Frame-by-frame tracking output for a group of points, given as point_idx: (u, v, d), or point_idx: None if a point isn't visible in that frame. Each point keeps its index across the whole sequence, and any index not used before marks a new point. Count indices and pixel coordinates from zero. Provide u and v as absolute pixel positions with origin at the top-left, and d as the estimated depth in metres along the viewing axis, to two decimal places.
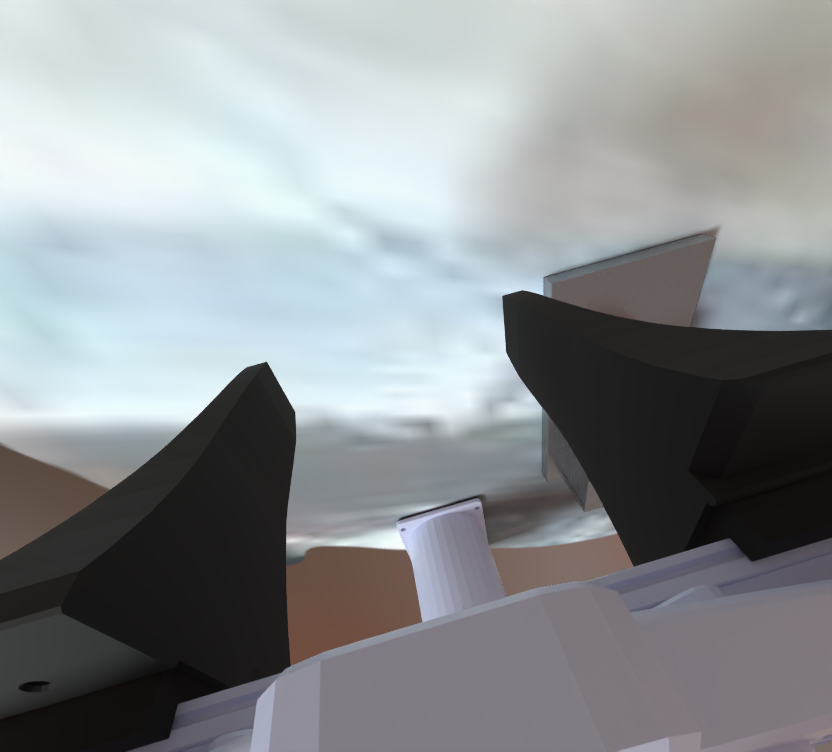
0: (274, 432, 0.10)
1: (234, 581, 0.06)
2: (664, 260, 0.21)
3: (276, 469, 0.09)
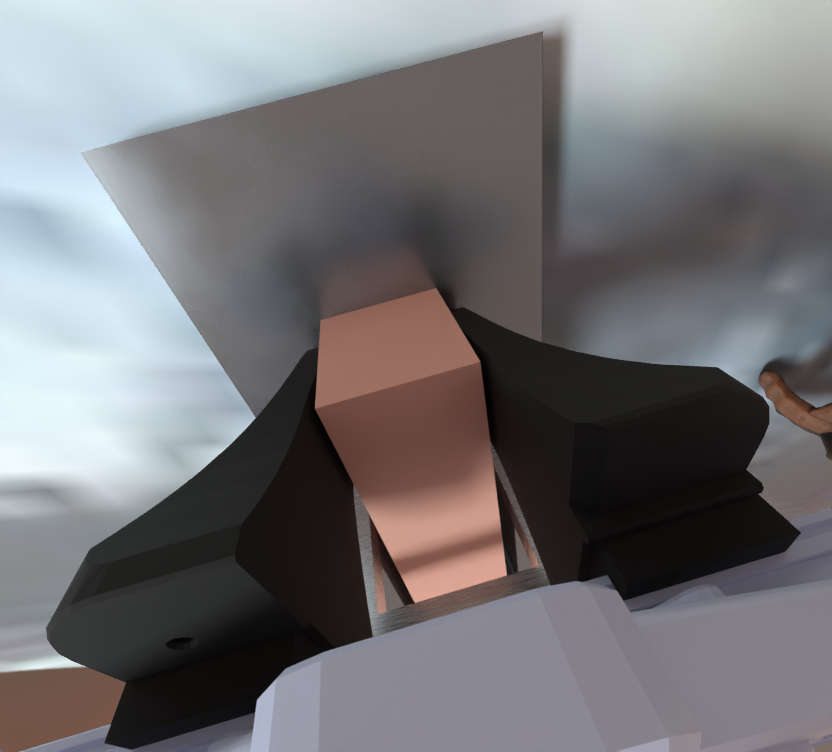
0: None
1: (331, 553, 0.06)
2: (410, 97, 0.08)
3: None
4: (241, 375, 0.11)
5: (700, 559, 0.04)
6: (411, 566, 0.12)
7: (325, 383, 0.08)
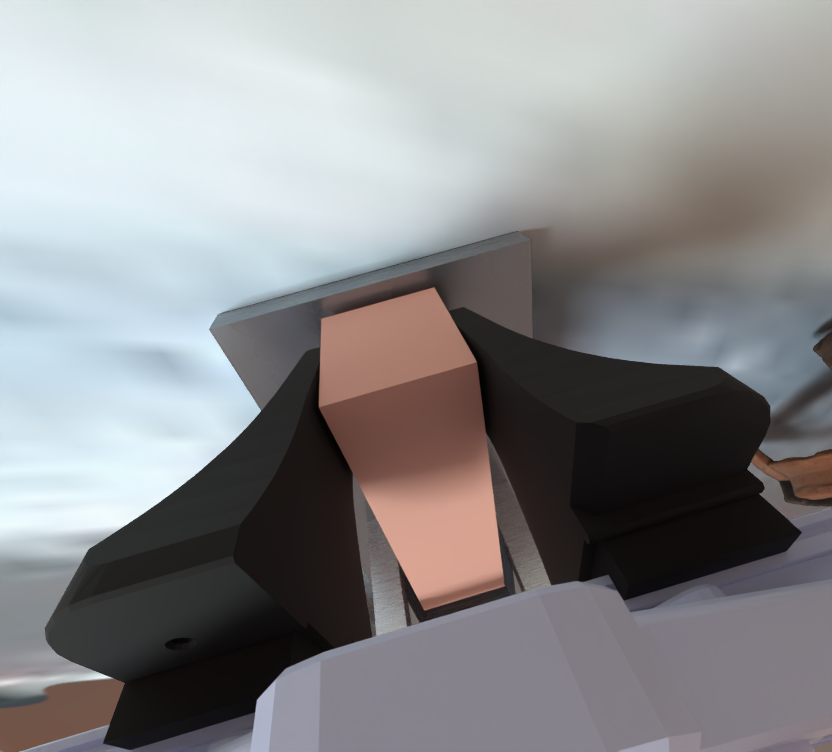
0: None
1: (330, 553, 0.06)
2: (437, 282, 0.11)
3: None
4: None
5: (702, 558, 0.04)
6: (410, 554, 0.12)
7: (328, 382, 0.08)
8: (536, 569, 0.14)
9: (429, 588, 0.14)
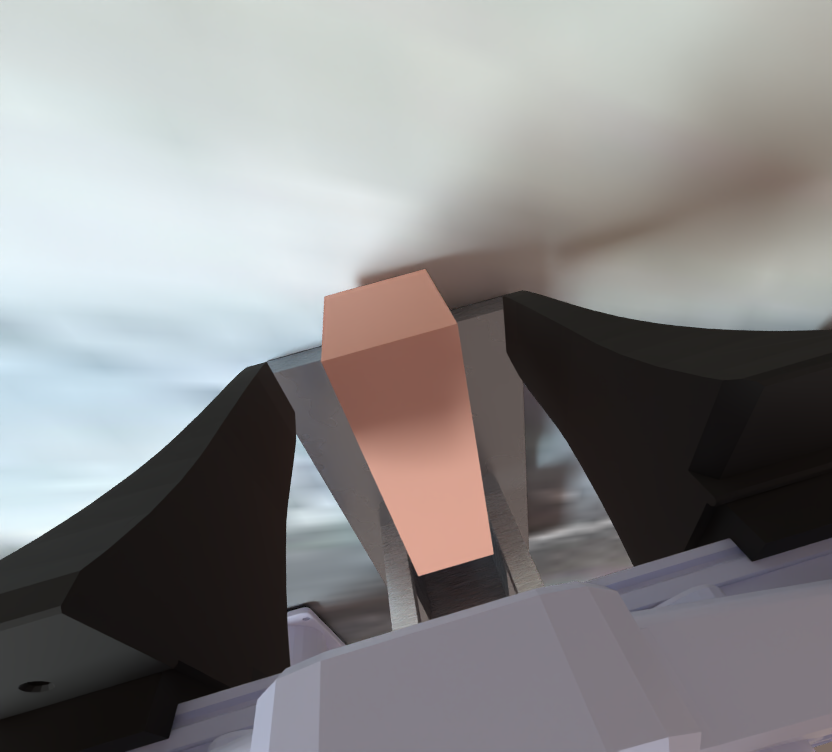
0: (274, 432, 0.10)
1: (234, 581, 0.06)
2: None
3: (276, 469, 0.09)
4: (328, 473, 0.17)
5: None
6: (403, 514, 0.13)
7: (329, 343, 0.10)
8: (525, 568, 0.17)
9: (422, 552, 0.15)
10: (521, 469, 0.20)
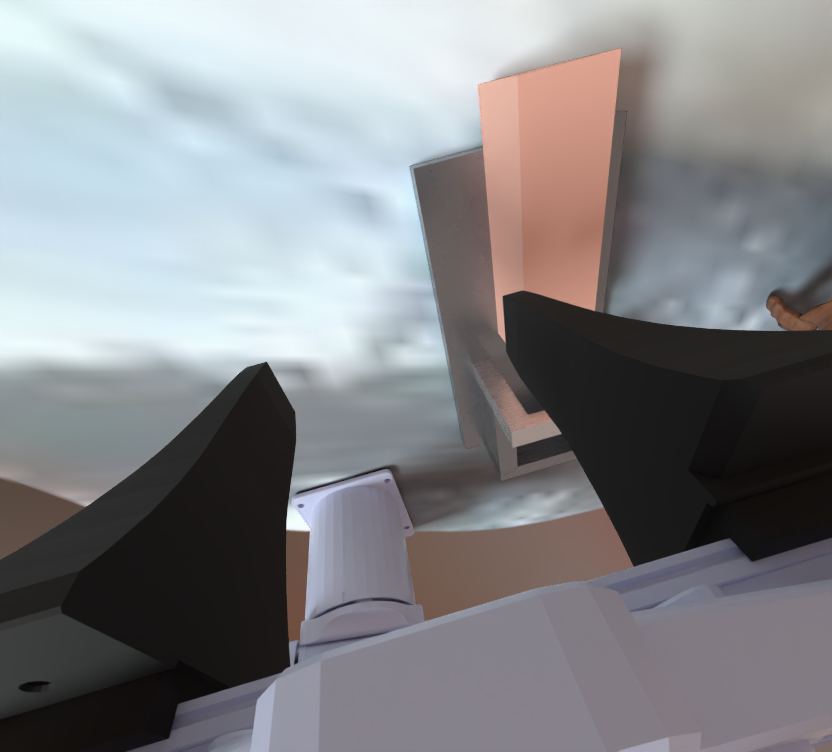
0: (274, 432, 0.10)
1: (234, 581, 0.06)
2: None
3: (276, 469, 0.09)
4: (442, 291, 0.20)
5: None
6: (533, 280, 0.16)
7: None
8: None
9: None
10: (600, 308, 0.22)
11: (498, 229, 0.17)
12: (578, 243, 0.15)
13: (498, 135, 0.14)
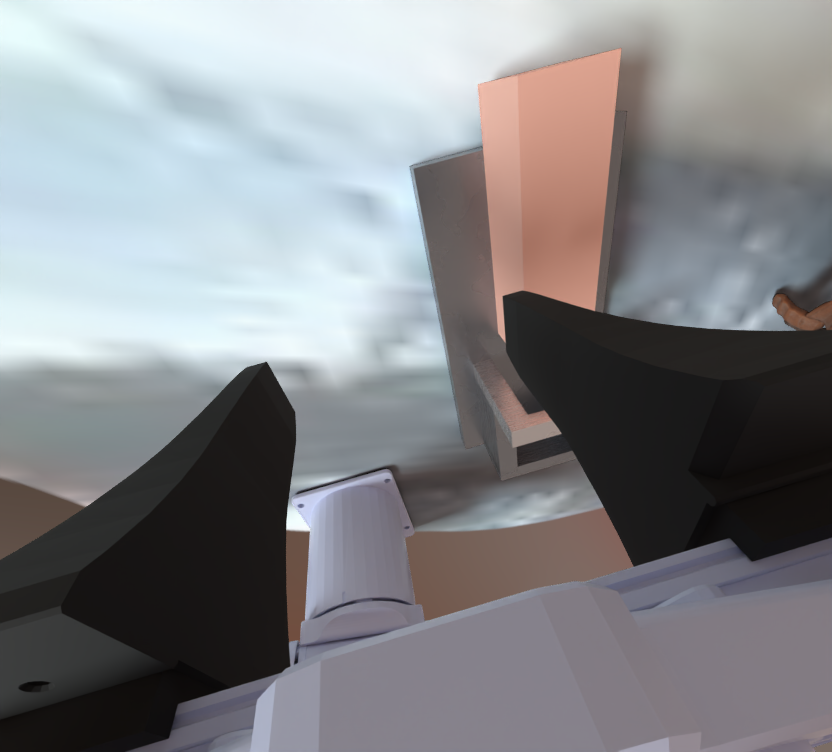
0: (274, 432, 0.10)
1: (234, 581, 0.06)
2: None
3: (276, 469, 0.09)
4: (442, 291, 0.20)
5: None
6: (533, 280, 0.16)
7: None
8: None
9: None
10: (600, 308, 0.22)
11: (498, 229, 0.17)
12: (578, 243, 0.15)
13: (498, 135, 0.14)
